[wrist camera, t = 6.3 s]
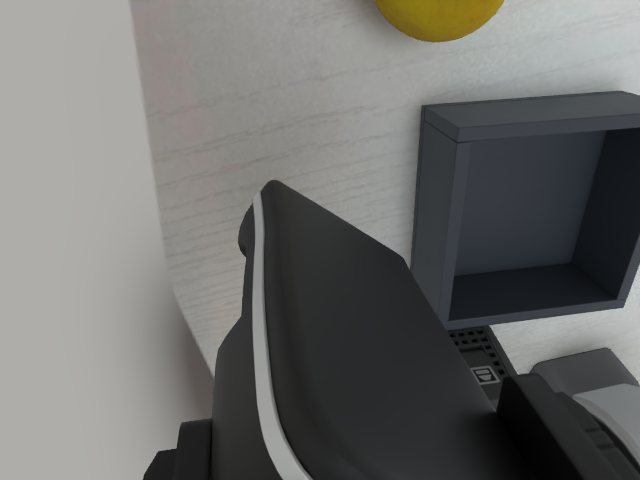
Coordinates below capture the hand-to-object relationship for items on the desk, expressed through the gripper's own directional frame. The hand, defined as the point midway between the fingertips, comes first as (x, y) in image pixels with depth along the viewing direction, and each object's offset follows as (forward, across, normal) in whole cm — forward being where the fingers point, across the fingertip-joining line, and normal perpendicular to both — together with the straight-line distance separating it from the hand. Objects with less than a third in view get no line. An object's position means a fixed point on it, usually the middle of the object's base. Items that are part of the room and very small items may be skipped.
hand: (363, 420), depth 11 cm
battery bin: (+20, -15, +4) cm, 25 cm away
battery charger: (+8, 0, 0) cm, 8 cm away
